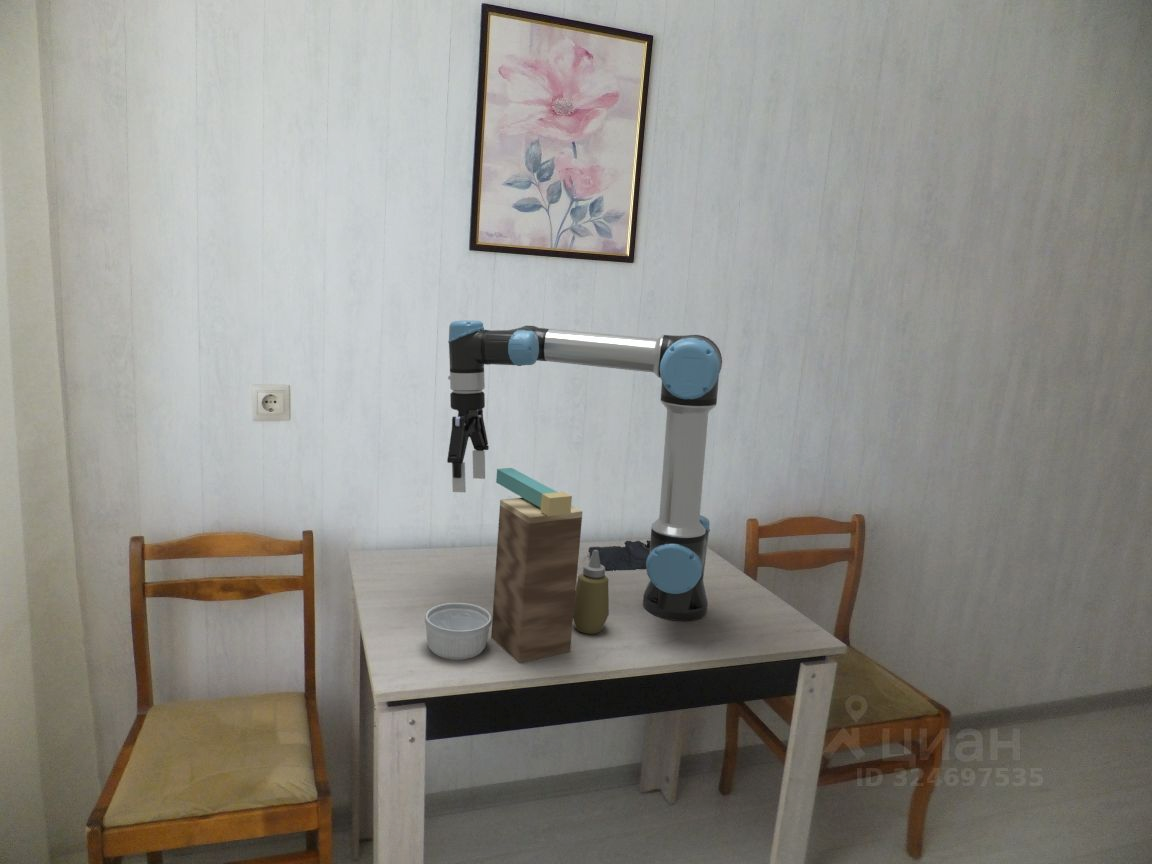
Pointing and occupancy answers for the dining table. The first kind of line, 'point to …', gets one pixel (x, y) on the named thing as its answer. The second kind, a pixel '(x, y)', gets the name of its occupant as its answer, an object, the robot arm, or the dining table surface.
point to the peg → (535, 492)
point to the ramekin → (457, 630)
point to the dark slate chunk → (623, 556)
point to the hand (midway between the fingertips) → (469, 485)
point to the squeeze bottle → (591, 597)
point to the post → (535, 580)
